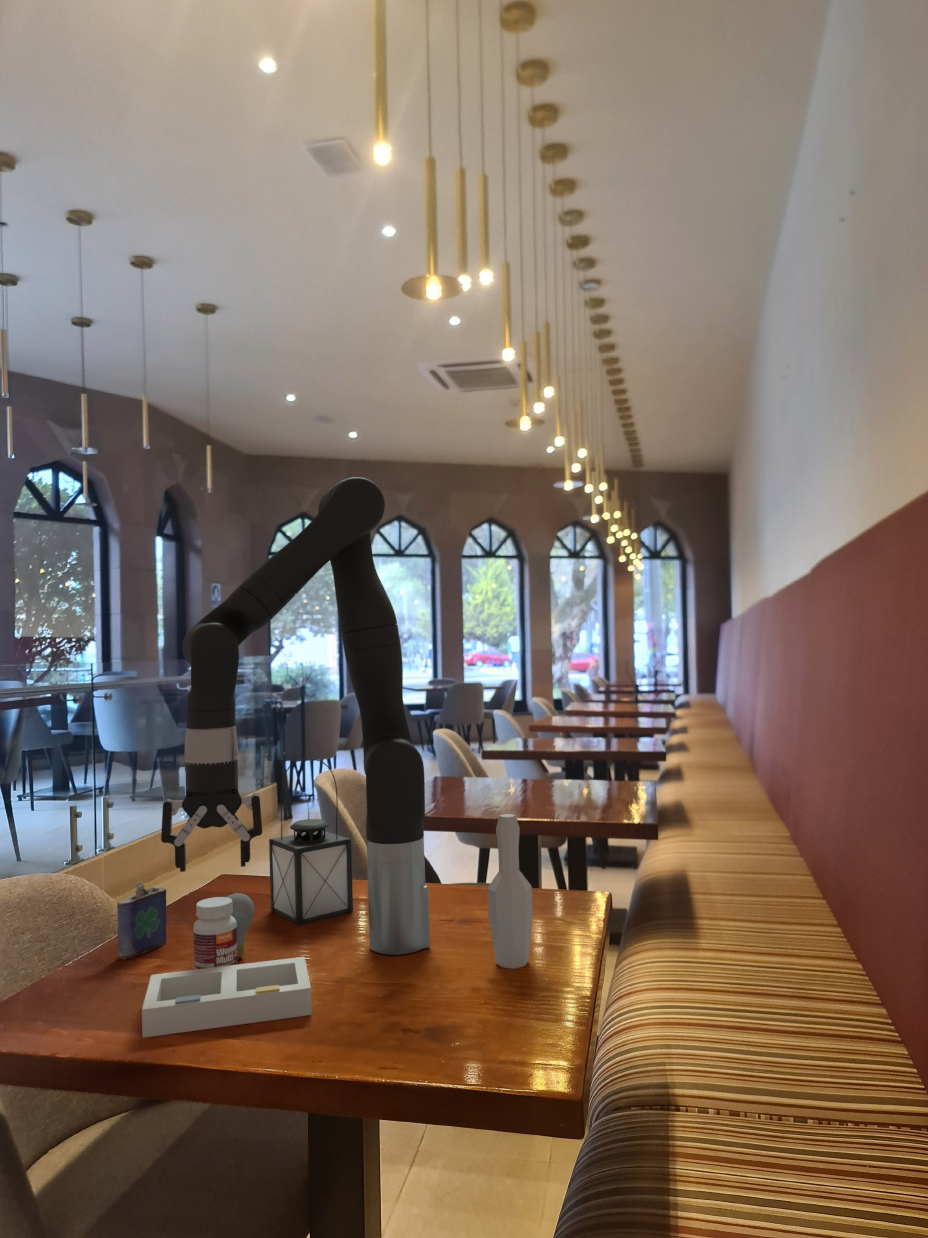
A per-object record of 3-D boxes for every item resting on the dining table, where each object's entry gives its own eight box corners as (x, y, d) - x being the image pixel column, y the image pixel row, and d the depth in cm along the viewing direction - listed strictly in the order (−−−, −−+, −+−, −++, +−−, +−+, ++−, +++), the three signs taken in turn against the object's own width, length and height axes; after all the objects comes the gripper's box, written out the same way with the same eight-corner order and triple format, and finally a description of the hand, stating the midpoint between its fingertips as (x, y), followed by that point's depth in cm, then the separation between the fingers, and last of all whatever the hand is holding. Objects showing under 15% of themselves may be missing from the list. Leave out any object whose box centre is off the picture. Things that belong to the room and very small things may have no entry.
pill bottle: (222, 989, 124) (220, 909, 125) (185, 985, 126) (183, 907, 126) (246, 973, 130) (244, 897, 131) (210, 970, 132) (208, 894, 132)
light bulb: (246, 965, 134) (244, 899, 134) (213, 963, 135) (211, 898, 135) (261, 952, 139) (259, 889, 139) (229, 951, 140) (228, 888, 140)
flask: (125, 961, 137) (123, 892, 137) (112, 958, 138) (111, 890, 139) (170, 942, 145) (169, 877, 145) (158, 940, 146) (156, 876, 147)
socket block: (305, 981, 126) (304, 954, 127) (311, 1015, 115) (310, 985, 115) (151, 1000, 121) (151, 972, 121) (142, 1038, 110) (141, 1007, 110)
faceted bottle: (541, 961, 131) (536, 814, 132) (514, 974, 127) (509, 821, 127) (509, 952, 136) (504, 809, 136) (482, 964, 131) (477, 816, 132)
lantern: (353, 912, 158) (350, 757, 159) (297, 926, 151) (294, 764, 152) (324, 899, 167) (320, 752, 168) (269, 911, 160) (266, 758, 161)
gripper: (260, 752, 134) (262, 858, 134) (163, 757, 131) (164, 866, 131) (261, 758, 127) (263, 870, 127) (158, 763, 124) (159, 879, 123)
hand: (213, 868), depth 129 cm, fingers open, 8 cm apart
